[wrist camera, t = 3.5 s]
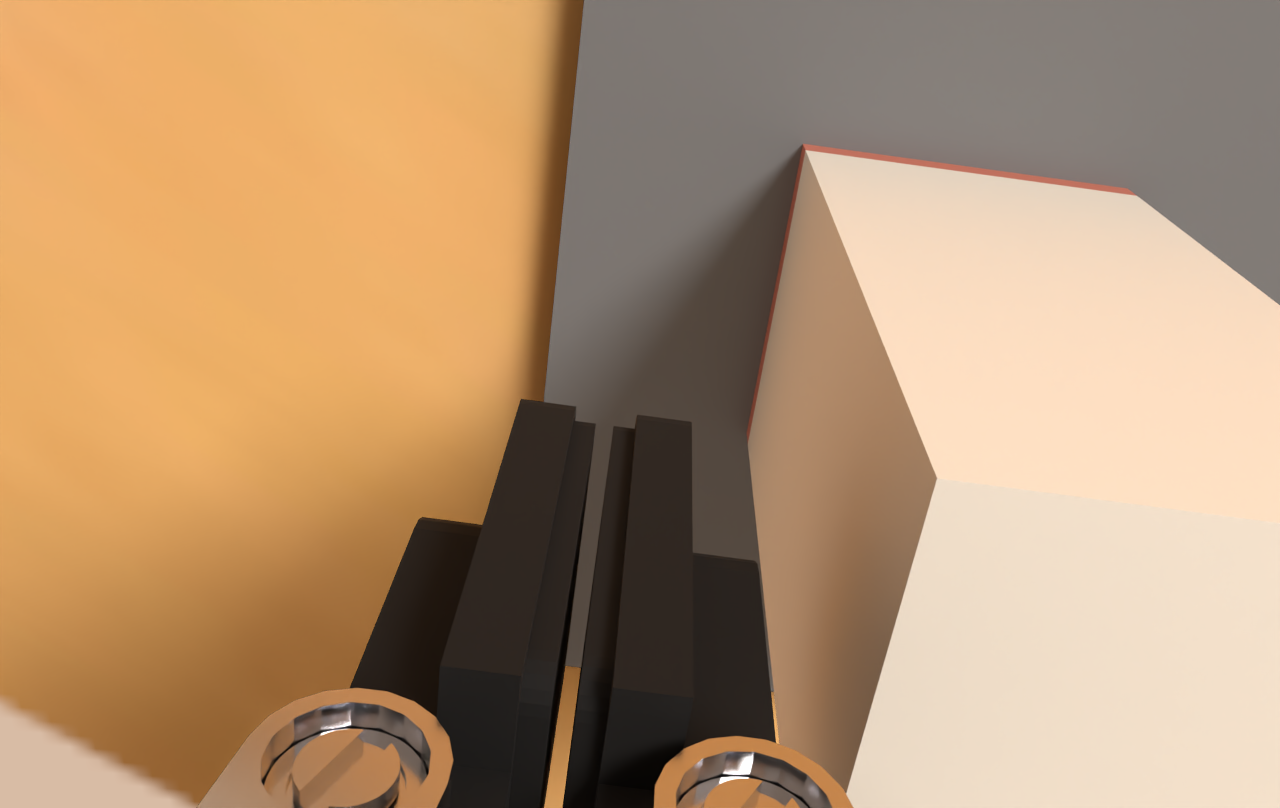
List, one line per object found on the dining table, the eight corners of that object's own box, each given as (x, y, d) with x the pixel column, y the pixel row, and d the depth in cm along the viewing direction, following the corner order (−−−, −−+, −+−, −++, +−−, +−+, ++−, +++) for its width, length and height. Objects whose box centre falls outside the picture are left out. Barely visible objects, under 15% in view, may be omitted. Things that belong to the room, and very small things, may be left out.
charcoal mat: (2044, -100, 16) (2110, -98, 15) (1501, 756, 23) (1528, 786, 22) (619, -311, 15) (616, -319, 14) (523, 633, 22) (517, 660, 21)
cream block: (1127, 188, 17) (1622, 568, 8) (1033, 470, 19) (1338, 1014, 10) (803, 143, 17) (937, 478, 8) (747, 433, 19) (800, 950, 10)
